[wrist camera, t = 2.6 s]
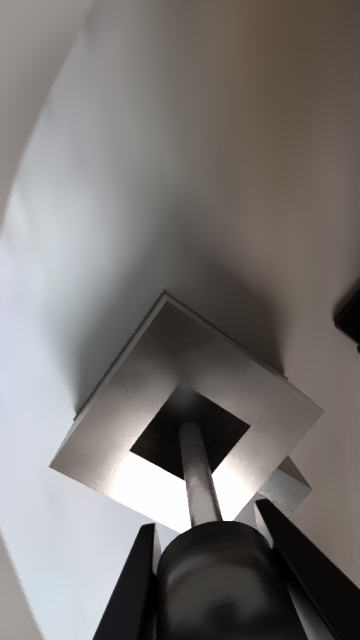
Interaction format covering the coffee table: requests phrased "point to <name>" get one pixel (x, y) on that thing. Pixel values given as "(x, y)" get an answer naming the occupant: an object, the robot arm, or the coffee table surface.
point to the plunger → (219, 570)
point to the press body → (188, 420)
